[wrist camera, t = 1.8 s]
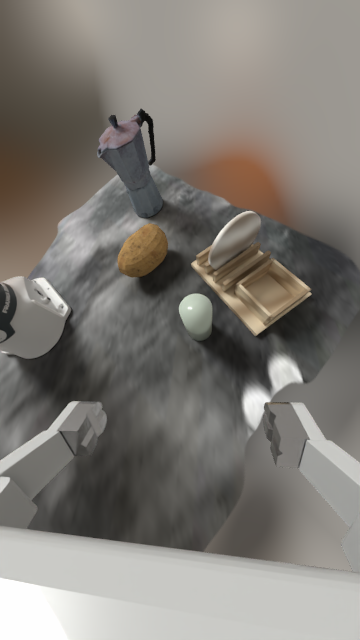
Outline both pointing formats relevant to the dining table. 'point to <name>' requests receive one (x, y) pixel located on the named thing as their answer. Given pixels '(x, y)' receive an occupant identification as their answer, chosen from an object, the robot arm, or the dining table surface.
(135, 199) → the moka pot
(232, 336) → the dining table surface
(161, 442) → the dining table surface
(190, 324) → the pale green glossy part
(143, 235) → the potato
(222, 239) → the rack
